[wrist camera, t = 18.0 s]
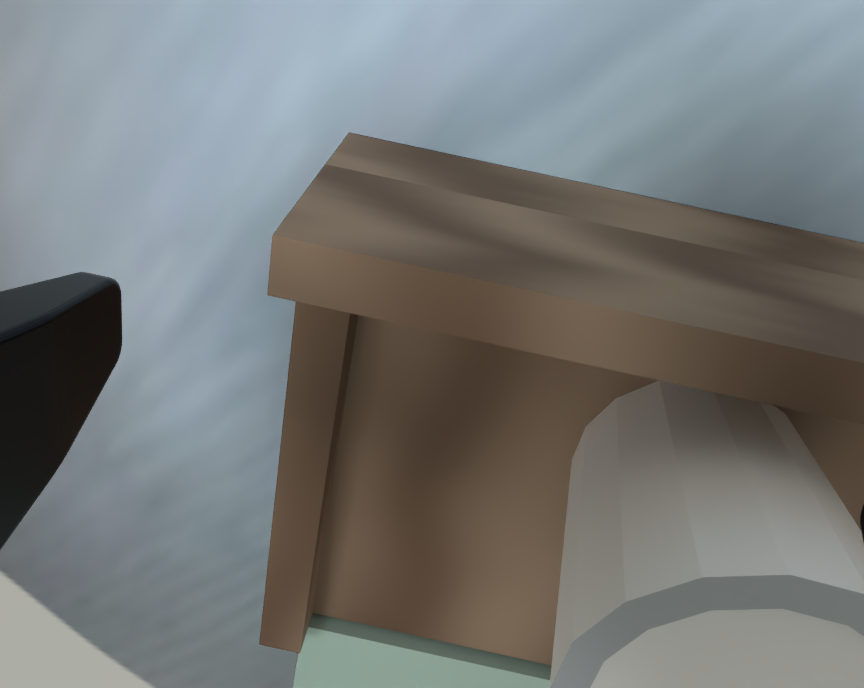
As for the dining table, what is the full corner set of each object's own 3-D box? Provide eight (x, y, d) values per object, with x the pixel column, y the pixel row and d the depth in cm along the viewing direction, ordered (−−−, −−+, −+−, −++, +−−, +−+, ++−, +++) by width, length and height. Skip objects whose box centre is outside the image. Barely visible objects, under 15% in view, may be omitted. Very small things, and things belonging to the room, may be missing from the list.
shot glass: (721, 605, 23) (786, 870, 17) (500, 508, 22) (484, 750, 16) (893, 428, 19) (1052, 682, 13) (638, 307, 18) (684, 517, 12)
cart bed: (295, 545, 27) (230, 722, 21) (348, 132, 20) (272, 234, 14) (891, 677, 27) (983, 889, 21) (1162, 307, 20) (1411, 481, 14)
